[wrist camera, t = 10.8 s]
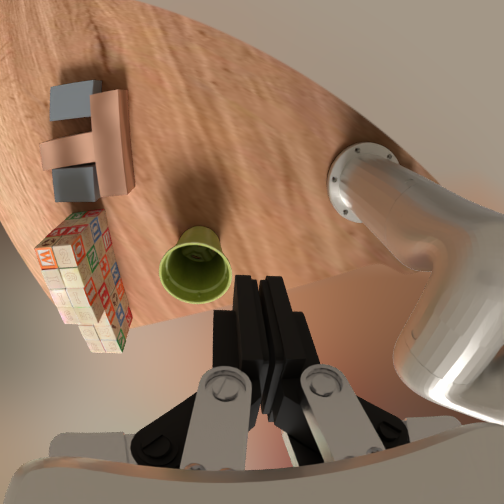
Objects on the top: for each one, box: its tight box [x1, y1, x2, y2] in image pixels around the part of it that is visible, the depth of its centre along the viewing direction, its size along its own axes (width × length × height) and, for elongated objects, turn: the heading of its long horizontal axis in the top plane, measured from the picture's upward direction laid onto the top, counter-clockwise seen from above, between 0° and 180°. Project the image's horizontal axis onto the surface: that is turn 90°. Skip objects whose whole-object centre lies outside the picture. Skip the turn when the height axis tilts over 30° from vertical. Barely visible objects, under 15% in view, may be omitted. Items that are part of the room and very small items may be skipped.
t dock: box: [50, 80, 102, 202], centre depth 34 cm, size 7×17×3 cm, turn 174°
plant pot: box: [159, 226, 232, 304], centre depth 42 cm, size 9×9×9 cm
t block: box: [39, 89, 135, 197], centre depth 34 cm, size 13×14×4 cm
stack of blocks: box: [34, 209, 133, 353], centre depth 41 cm, size 21×6×12 cm, turn 1°
